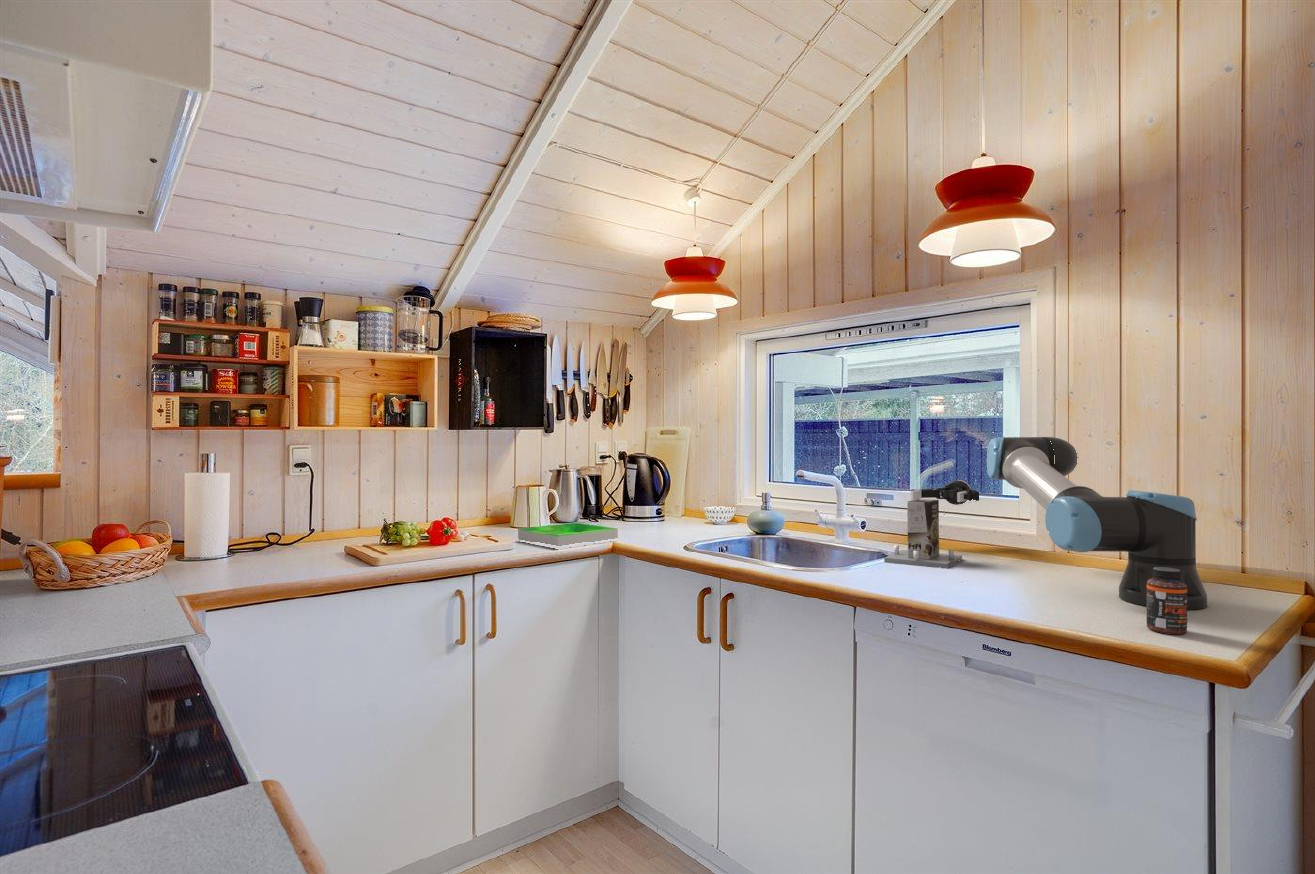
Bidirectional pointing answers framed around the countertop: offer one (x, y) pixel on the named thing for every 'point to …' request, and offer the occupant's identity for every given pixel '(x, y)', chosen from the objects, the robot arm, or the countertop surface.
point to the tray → (567, 534)
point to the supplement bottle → (1167, 602)
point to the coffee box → (923, 528)
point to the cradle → (937, 561)
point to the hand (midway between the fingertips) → (934, 496)
